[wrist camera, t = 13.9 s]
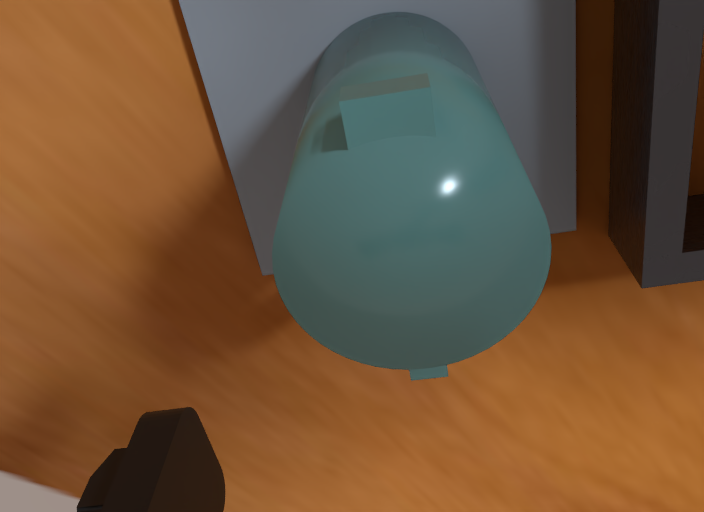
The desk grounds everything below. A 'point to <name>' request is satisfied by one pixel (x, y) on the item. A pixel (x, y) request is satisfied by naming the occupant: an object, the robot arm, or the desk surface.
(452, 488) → the desk surface
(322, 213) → the glazed jug
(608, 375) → the desk surface
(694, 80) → the dark grey rectangular frame
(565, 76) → the slate grey mat
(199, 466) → the robot arm
